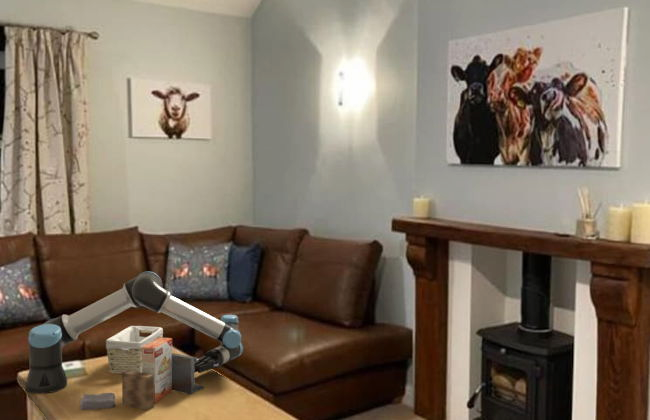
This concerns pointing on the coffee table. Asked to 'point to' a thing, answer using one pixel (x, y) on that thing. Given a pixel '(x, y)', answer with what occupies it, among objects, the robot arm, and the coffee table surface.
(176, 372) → the bookend
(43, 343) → the robot arm
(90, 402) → the stone block
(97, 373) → the coffee table surface
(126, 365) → the storage basket
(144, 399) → the end block
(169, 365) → the cracker box
